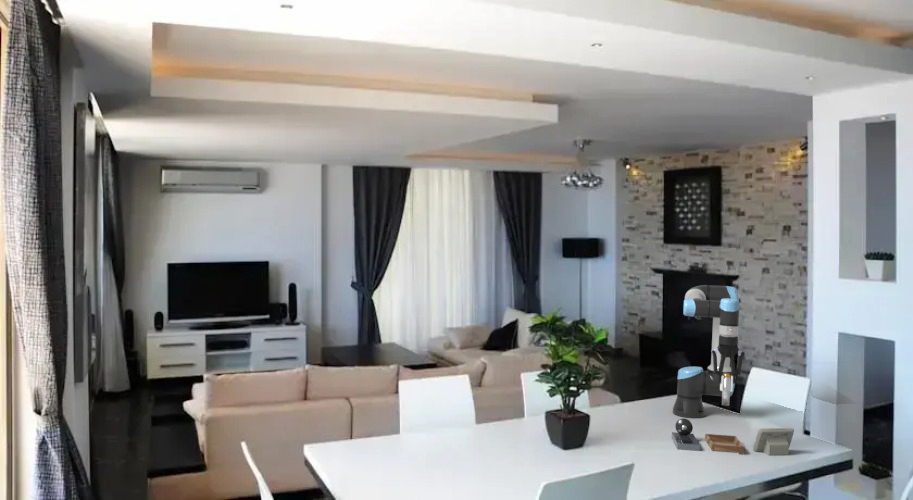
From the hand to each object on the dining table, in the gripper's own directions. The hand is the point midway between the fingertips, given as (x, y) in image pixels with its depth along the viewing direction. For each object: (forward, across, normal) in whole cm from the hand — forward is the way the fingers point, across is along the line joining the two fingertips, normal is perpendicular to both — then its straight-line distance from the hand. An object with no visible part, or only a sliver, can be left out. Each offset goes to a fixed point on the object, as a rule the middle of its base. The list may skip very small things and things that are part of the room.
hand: (726, 390), depth 301 cm
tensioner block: (+24, -16, -1) cm, 29 cm away
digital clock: (+25, +20, -1) cm, 32 cm away
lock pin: (+6, 0, 0) cm, 6 cm away
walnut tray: (+24, 0, 0) cm, 24 cm away
